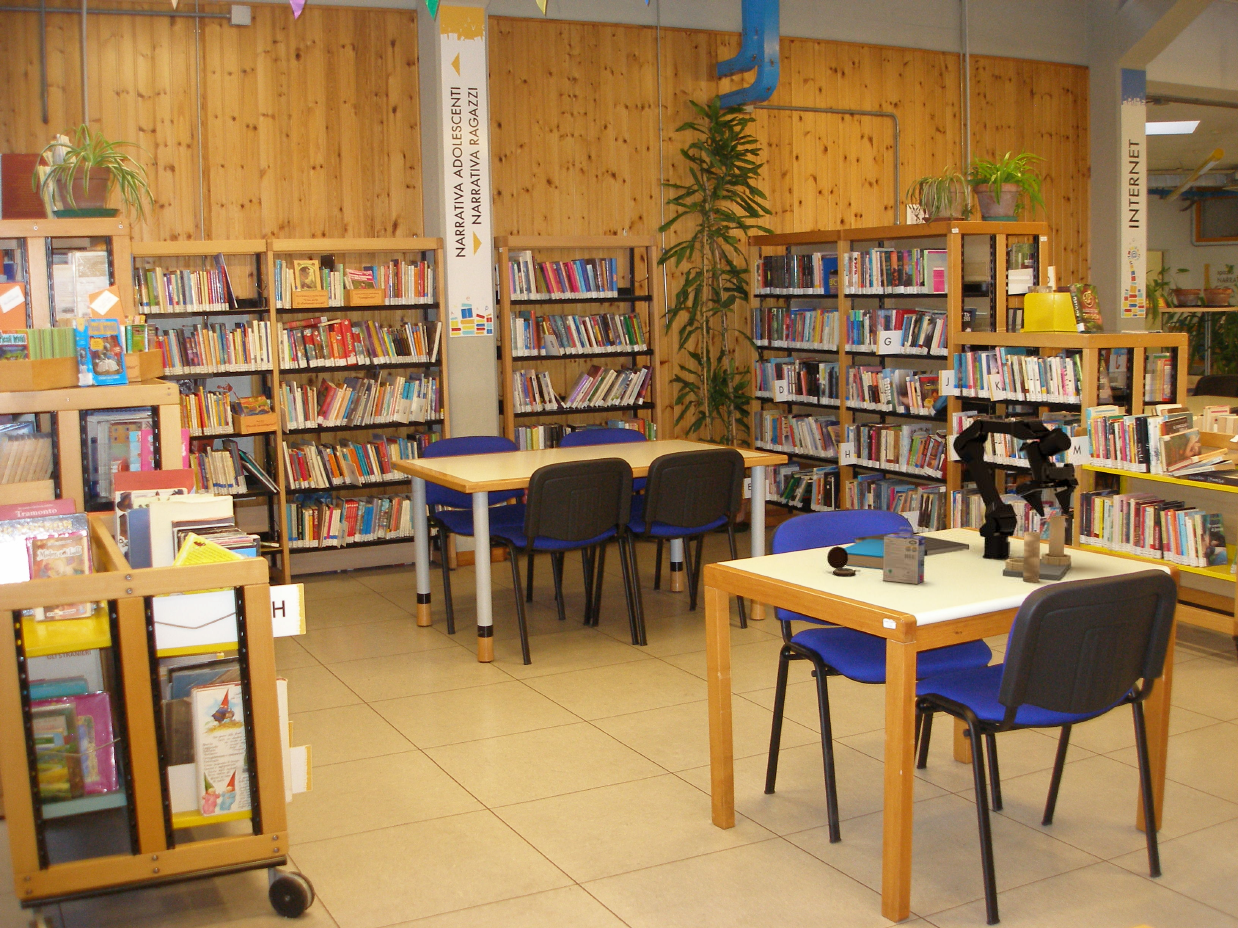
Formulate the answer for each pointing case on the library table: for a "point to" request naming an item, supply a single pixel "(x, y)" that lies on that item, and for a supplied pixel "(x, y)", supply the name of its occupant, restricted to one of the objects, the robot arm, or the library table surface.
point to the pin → (1031, 557)
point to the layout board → (1042, 571)
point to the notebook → (926, 544)
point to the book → (866, 554)
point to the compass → (839, 562)
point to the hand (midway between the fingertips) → (1055, 515)
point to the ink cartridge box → (904, 557)
